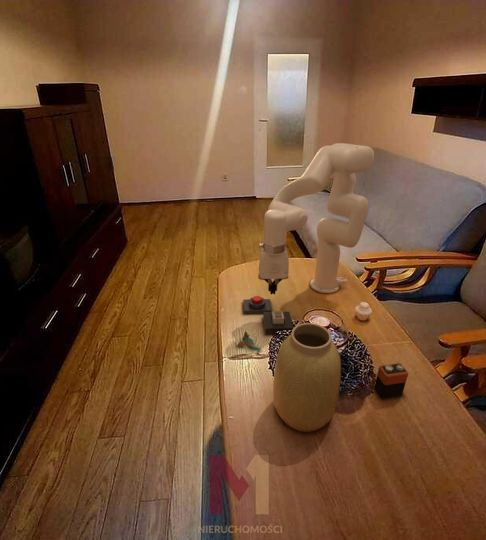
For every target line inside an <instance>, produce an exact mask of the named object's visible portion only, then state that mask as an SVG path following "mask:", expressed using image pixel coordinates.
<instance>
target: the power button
mask: <svg viewBox="0 0 486 540" xmlns="http://www.w3.org/2000/svg"><path fill="white" fill-rule="evenodd" d="M252 297H253V303H255V304H260V303H261V302H262V298H263V297H262V296H260V295H254V296H252ZM261 297H262V298H261Z"/></svg>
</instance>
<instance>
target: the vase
mask: <svg viewBox="0 0 486 540" xmlns="http://www.w3.org/2000/svg"><path fill="white" fill-rule="evenodd" d="M332 337H333V336H332V334H331V332H330V331H329V329H328V328H326V327H325V326H323V325H320V324H317V323H314V322H304V323H303V322H302V323H299V324H297V325H296V326H293V330H292V332H291V335H288V336H287V337H285V338H284V340H283V341H282V343H281V345H280V347H279V348H278V352H277V355H276V360H275V365H274V371H273V372H274V373H273V382H272V399H273V405H274V409H275V411H276V412H277V414H278V416H279V417H280V418H281V420H282V421H283V422H284V424H286V425H287V426H288V427H290V428H292V429H293V430H296V431H299V432H303V433H304V432H306V433H309V432H314V431H318V430H320V429H321V428H323V427H324V426H326V425H327V424H328V423H330V421H331V419H333V417H334V415H335V412H336V411H337V406H338V403H339V398H340V397H339V396H340V389H341V384H342V383H341V381H342V361H341V355H340V352H339V349H338V347H337V345H336V344H335V342H334V341H333V339H332Z"/></svg>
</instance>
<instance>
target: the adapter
mask: <svg viewBox="0 0 486 540" xmlns="http://www.w3.org/2000/svg"><path fill="white" fill-rule="evenodd" d="M272 312H273V311H272ZM272 312H263V314H262V315H263V319H262V321H263V327H264V336H278V335H277V334H278V333H275V332H277V331H283V330H293V328H294V325H293V324H294V323H293V321H292V317H291V312H290V311H282V312H283V315H284V324H272Z"/></svg>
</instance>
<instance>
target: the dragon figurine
mask: <svg viewBox="0 0 486 540" xmlns="http://www.w3.org/2000/svg"><path fill="white" fill-rule="evenodd" d="M245 344H246V346H248V347H250V348H251V349H253V350H257V351H256V353H257V354H258V355H259V351H260V348H259V347H256V346H255V345H256V343H255V342H254V340H253V339H252V338H250V334H248V332H247V331H246V330H245V331H244V333H243V336H242V337H241V340H239V341H238V343H237V344H236V346H237V347H238V348H240V347H243V346H245Z"/></svg>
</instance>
